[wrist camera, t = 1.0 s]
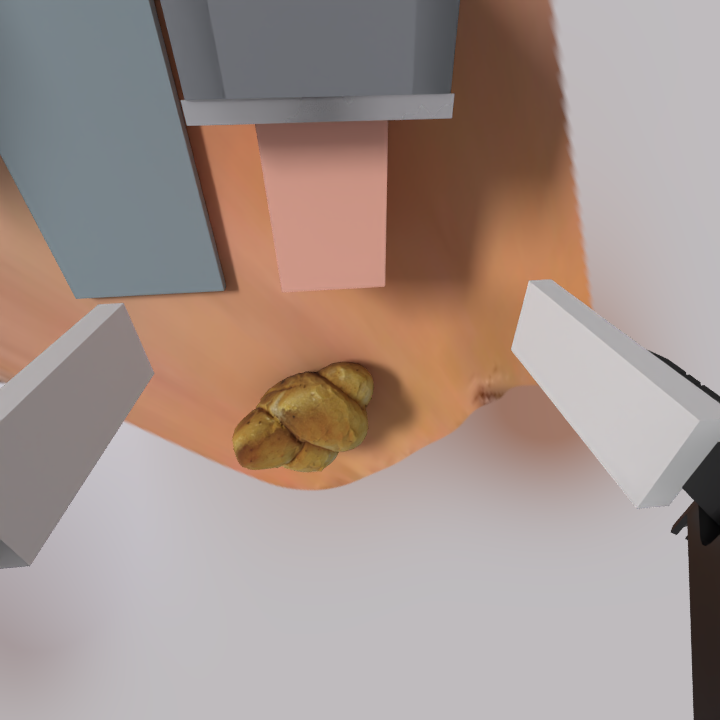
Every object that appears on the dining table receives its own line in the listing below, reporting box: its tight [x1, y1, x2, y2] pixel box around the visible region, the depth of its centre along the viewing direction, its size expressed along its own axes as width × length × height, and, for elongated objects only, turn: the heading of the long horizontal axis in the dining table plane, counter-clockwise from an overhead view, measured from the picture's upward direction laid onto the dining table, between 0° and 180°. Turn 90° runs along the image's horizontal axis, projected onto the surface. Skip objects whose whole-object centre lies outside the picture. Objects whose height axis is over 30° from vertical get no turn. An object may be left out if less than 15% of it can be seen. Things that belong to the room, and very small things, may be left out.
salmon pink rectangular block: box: [255, 120, 388, 292], centre depth 20 cm, size 13×6×8 cm, turn 1°
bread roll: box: [232, 362, 373, 472], centre depth 33 cm, size 13×10×8 cm
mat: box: [0, 0, 226, 299], centre depth 23 cm, size 18×11×1 cm, turn 1°
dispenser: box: [160, 0, 460, 126], centre depth 16 cm, size 8×10×10 cm
